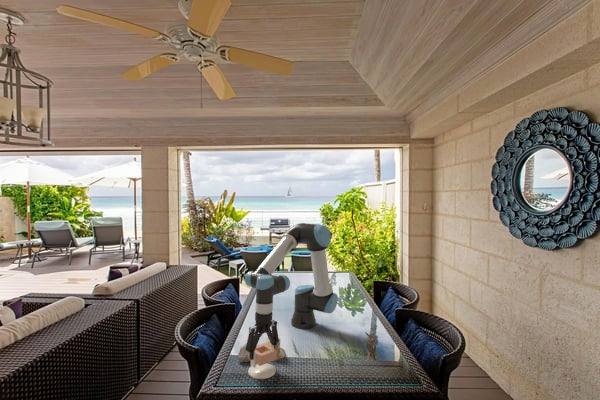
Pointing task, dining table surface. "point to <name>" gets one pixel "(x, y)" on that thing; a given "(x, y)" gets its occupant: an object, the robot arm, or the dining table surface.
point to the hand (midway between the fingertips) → (262, 362)
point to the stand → (279, 350)
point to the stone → (243, 354)
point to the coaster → (262, 371)
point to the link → (264, 354)
